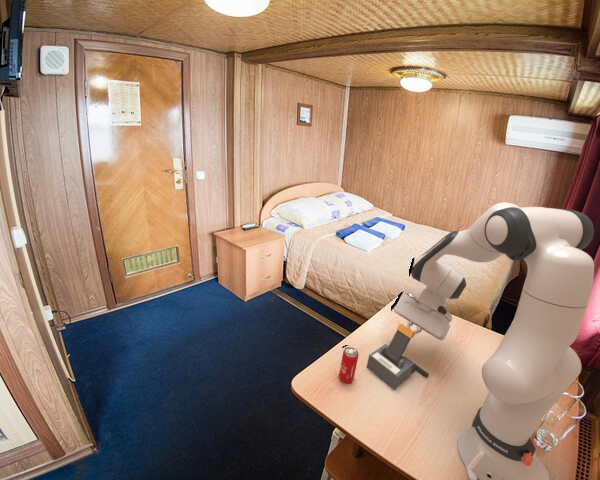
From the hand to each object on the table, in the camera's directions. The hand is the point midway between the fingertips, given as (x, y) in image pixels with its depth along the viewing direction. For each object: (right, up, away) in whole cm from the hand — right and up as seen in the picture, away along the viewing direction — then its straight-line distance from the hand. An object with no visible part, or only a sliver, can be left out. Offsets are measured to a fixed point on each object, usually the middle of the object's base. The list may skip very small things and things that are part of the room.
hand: (408, 335), depth 110 cm
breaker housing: (-8, -13, 0) cm, 15 cm away
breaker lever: (-7, -7, -3) cm, 10 cm away
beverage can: (-24, -14, -4) cm, 28 cm away
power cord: (+2, -13, +2) cm, 14 cm away
